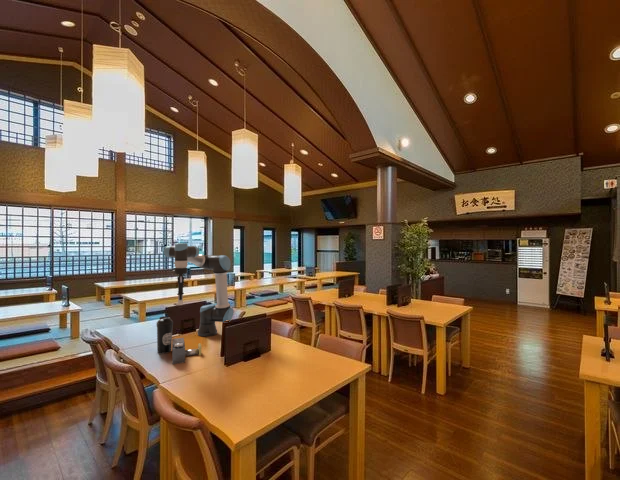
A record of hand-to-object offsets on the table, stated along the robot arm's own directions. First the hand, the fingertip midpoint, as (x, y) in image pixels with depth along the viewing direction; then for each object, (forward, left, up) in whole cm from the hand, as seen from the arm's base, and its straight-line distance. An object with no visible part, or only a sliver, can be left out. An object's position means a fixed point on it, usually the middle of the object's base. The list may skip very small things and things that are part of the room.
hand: (180, 304), depth 193 cm
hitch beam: (-3, -4, -34) cm, 35 cm away
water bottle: (-6, -21, -35) cm, 41 cm away
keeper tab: (+1, +1, -24) cm, 24 cm away
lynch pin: (-9, 0, -35) cm, 36 cm away
